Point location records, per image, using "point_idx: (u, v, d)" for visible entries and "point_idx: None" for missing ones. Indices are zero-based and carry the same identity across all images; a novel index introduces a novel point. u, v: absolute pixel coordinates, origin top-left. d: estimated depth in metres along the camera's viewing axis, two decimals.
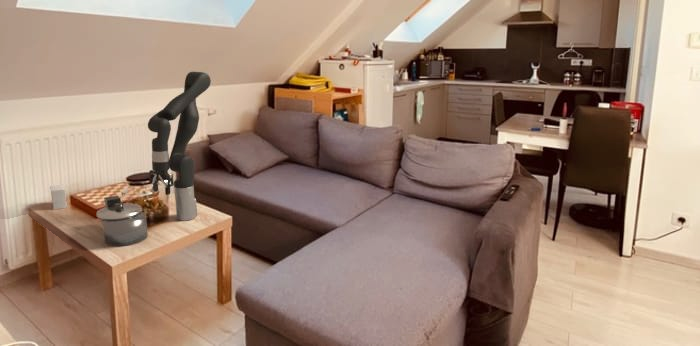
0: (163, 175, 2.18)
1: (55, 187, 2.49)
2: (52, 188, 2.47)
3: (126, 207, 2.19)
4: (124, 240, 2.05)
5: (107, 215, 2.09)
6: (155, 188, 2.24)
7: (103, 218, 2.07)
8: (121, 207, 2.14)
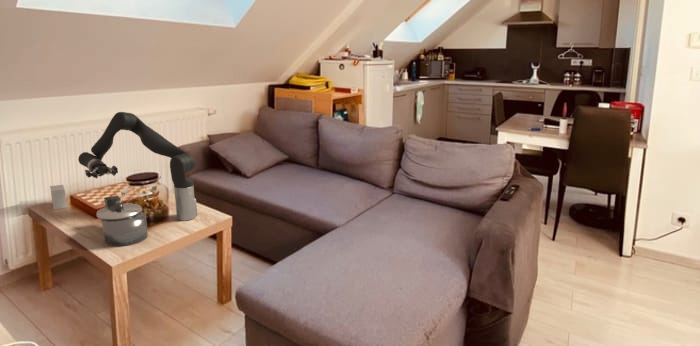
0: None
1: (55, 187, 2.49)
2: (52, 188, 2.47)
3: (126, 207, 2.19)
4: (124, 240, 2.05)
5: (107, 215, 2.09)
6: (112, 173, 2.29)
7: (103, 218, 2.07)
8: (121, 207, 2.14)
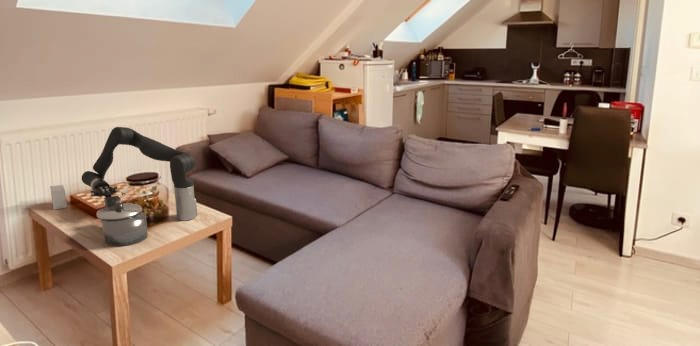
0: None
1: (55, 187, 2.49)
2: (52, 188, 2.47)
3: (126, 207, 2.19)
4: (124, 240, 2.05)
5: (107, 215, 2.09)
6: None
7: (103, 218, 2.07)
8: (121, 207, 2.14)
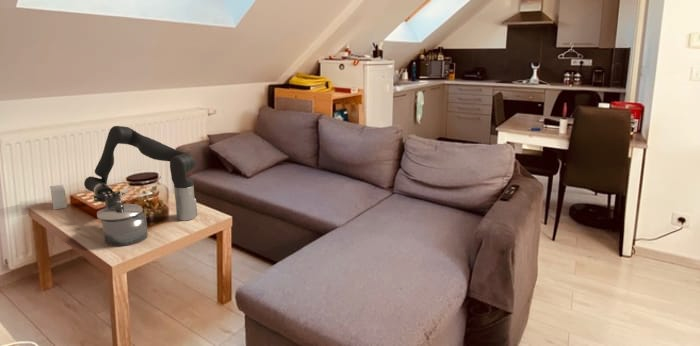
0: None
1: (55, 187, 2.49)
2: (52, 188, 2.47)
3: (127, 208, 2.19)
4: (124, 240, 2.05)
5: (107, 215, 2.09)
6: None
7: (103, 218, 2.06)
8: (121, 207, 2.14)
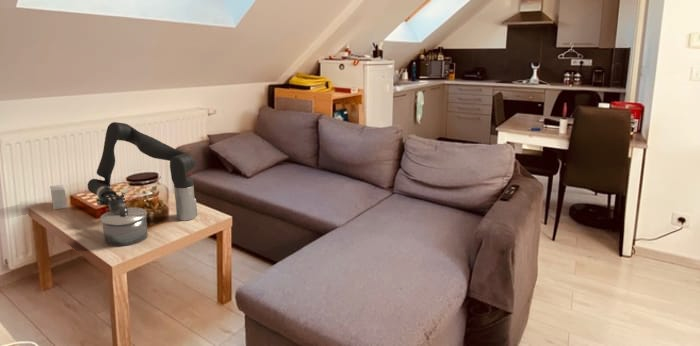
0: None
1: (55, 187, 2.49)
2: (52, 188, 2.47)
3: (130, 211, 2.14)
4: (124, 240, 2.05)
5: (111, 220, 2.04)
6: None
7: (107, 223, 2.02)
8: (125, 211, 2.09)
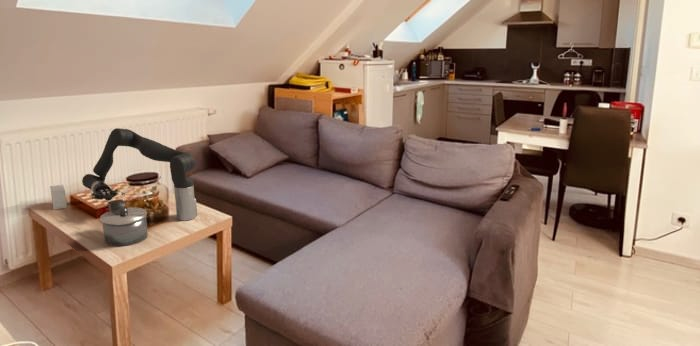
0: None
1: (55, 187, 2.49)
2: (52, 188, 2.47)
3: (130, 211, 2.14)
4: (124, 240, 2.05)
5: (111, 220, 2.04)
6: None
7: (107, 223, 2.02)
8: (125, 211, 2.09)
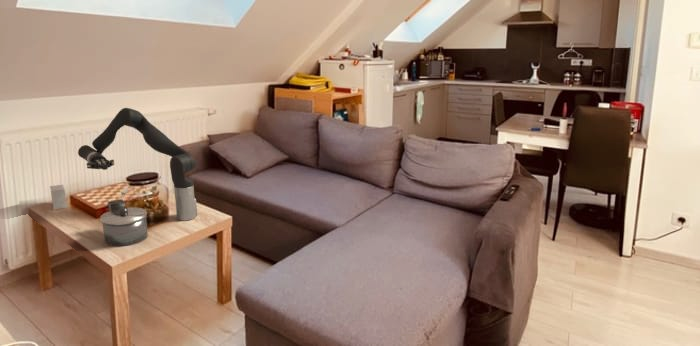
0: None
1: (55, 187, 2.49)
2: (52, 188, 2.47)
3: (130, 211, 2.14)
4: (124, 240, 2.05)
5: (111, 220, 2.04)
6: None
7: (107, 223, 2.02)
8: (125, 211, 2.09)
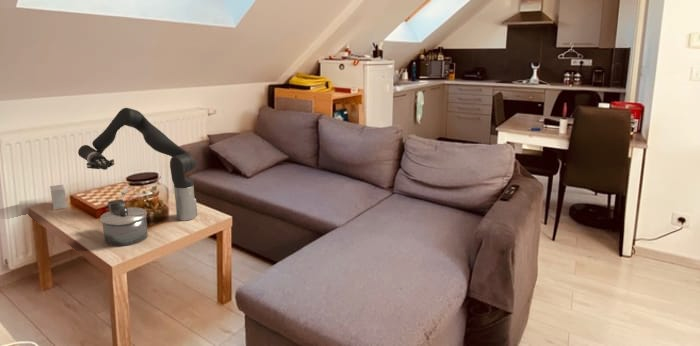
0: None
1: (55, 187, 2.49)
2: (52, 188, 2.47)
3: (130, 211, 2.14)
4: (124, 240, 2.05)
5: (111, 220, 2.04)
6: None
7: (107, 223, 2.02)
8: (125, 211, 2.09)
